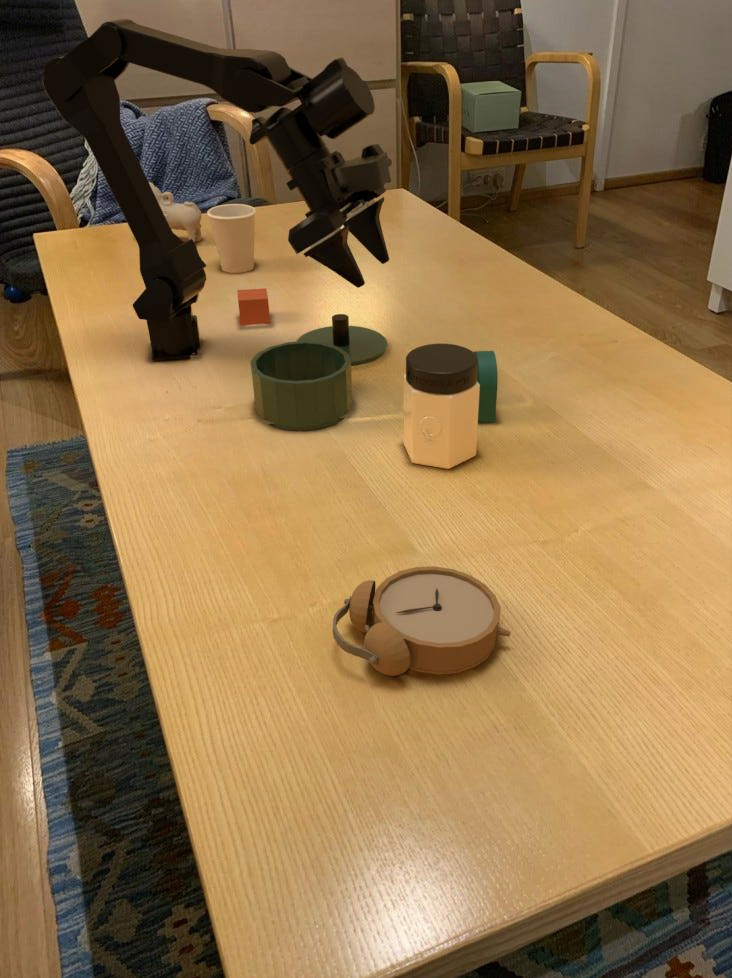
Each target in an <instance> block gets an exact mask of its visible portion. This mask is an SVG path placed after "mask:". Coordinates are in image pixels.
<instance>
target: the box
mask: <svg viewBox="0 0 732 978" xmlns="http://www.w3.org/2000/svg"><path fill="white" fill-rule="evenodd" d="M236 292H237V302H238V311H239V319H240V326H252V325H266V324H271V315H270V305H269V296H268V291H267V288H266V287H264V288H249V289H237V291H236Z"/></svg>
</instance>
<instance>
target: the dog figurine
mask: <svg viewBox="0 0 732 978" xmlns="http://www.w3.org/2000/svg"><path fill="white" fill-rule="evenodd" d="M148 182H149V181H148ZM149 184H150V186H151V188H152V190H153V193H154V195H155V197H156V199H157V201H158V203H159V205H160V207H161V209H162V211H163V214H164V216H165V218H166V220H167V222H168V224H169V226H170V228H171V230H175V231H176V230H180V231H185V232H187V236H188V240H190V239H192V240H193V241H194V243H195V244H196V242H199V241H201V240H202V230H201V228H202V224H201V221H202V211H201V210H200V209H199V207H198V205H197V204H196V203H194V202H192V201H187V200H185V201H184V202H183V203H177V202H175V201H174V198H175V197H174V194H173V193H172V192H170V191H164V192H163V193H162V192H161V190H160V189H159V188H158V187H157V186H155V184H153V182H149Z"/></svg>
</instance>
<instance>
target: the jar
mask: <svg viewBox="0 0 732 978" xmlns="http://www.w3.org/2000/svg"><path fill="white" fill-rule="evenodd" d="M477 372H478V357H477V356H476V354H475V353H474V351H473V350H472V349H469V348H467V347H464V346H462V345H457V344H453V343H430V344H425V345H421V346H418V347H415V348H413V349H412V350H410V351H409V352H408V353H407V355H406V357H405V373H404V374H403V445H404V448H405V450H406V452H407V454H408V457H409V460H410V462H411V463H412V464H416V465H423V466H429V467H433V468H434V467H435V468H439V469H446V470H450V469H452V468H454V467H456V466H458V465H460V464H462V463H464V462H466V461H468V460H469V459H472V458H474V457H475V456H476V455H477V446H478V445H477V444H478V428H479V427H478V425H479V423H478V409H479V392H480V385H479V383H478V381H477Z"/></svg>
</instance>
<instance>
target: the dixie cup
mask: <svg viewBox="0 0 732 978" xmlns="http://www.w3.org/2000/svg"><path fill="white" fill-rule="evenodd" d="M256 213H257V209H256V208H255V207H253V206H252V205H249V204H244V203H227V204H220V205H216V206H213V207H210V208H209V209H208V210H207V212H206V214H207V216H208V217H209V222H210V226H211V230H212V234H213V238H214V241H215V242H214V243H215V246H216V250H217V254H218V258H219V262H220V265H221V270H222V271H223V272H225V273H232V274H240V273H241V274H242V273H246V272H249V271H252V270H253V269H254V268H255V224H256V223H255V222H256V221H255V218H256V217H255V216H256Z"/></svg>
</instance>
